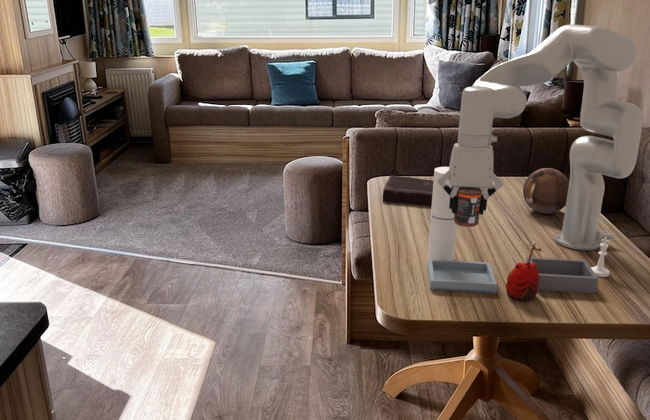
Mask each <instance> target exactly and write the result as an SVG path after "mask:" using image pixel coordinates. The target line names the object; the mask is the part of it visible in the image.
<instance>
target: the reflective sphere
mask: <svg viewBox="0 0 650 420" xmlns="http://www.w3.org/2000/svg"><path fill="white" fill-rule="evenodd" d="M569 181H570V179H569V178H568V177H567V176H566V175H565V174H564V173H563V172H561V171H560V170H557V169H554V168H552V167H551V168H549V167H545V168H539V169H537V170H535V171H533V172H532V173H531V174H530V175H529V176H528V177H527V178H526V179H525V181H524V184H523V189H522V194H523V199H524V201H525V203H526V205H527V206H528V207H529V208H530V209H531V210H533V211H535V212H536V213H539V214H545V215H546V214H547V215H550V214H555V213H557V212H559V211H561V210H562V209H564V208H565V207H566V201H567V194H568V188H569Z"/></svg>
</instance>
